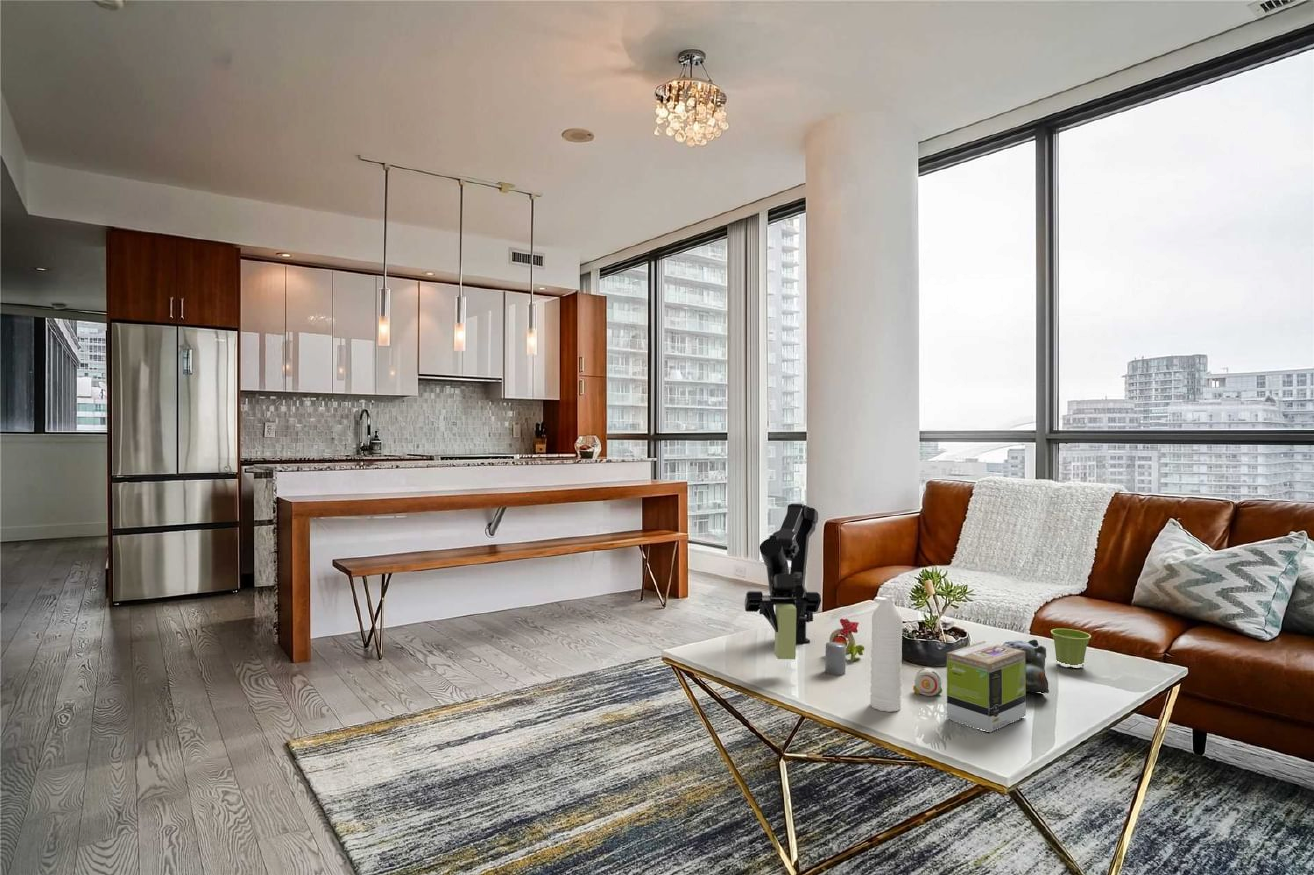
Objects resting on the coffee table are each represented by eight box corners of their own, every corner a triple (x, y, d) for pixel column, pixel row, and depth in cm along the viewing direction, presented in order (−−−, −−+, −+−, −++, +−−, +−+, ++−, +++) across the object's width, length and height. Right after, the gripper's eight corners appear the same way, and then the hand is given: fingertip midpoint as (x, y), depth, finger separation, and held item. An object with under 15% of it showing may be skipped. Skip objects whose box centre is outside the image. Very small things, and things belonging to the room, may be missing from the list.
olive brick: (774, 653, 189) (775, 604, 189) (791, 653, 189) (792, 604, 189) (777, 658, 185) (778, 608, 185) (795, 659, 185) (796, 608, 185)
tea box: (982, 704, 170) (984, 639, 169) (1026, 719, 161) (1028, 650, 161) (944, 719, 161) (946, 650, 160) (989, 735, 152) (990, 662, 152)
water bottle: (876, 699, 172) (878, 590, 171) (904, 706, 168) (907, 594, 167) (862, 710, 165) (864, 597, 164) (891, 717, 161) (893, 601, 160)
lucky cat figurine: (972, 688, 180) (973, 631, 186) (1003, 701, 185) (1003, 644, 191) (1030, 687, 168) (1030, 626, 174) (1062, 701, 173) (1060, 641, 179)
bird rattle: (832, 667, 202) (863, 659, 197) (817, 626, 204) (847, 617, 199) (841, 661, 207) (871, 653, 202) (826, 622, 209) (855, 613, 205)
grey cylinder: (822, 669, 193) (822, 642, 192) (840, 668, 194) (840, 641, 193) (830, 676, 188) (830, 648, 188) (848, 675, 189) (849, 647, 189)
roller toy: (941, 699, 172) (941, 674, 172) (912, 695, 175) (912, 670, 175) (942, 693, 176) (943, 669, 176) (914, 689, 179) (914, 665, 179)
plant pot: (1098, 669, 197) (1099, 636, 197) (1072, 673, 193) (1073, 639, 193) (1067, 658, 206) (1068, 627, 205) (1041, 662, 202) (1042, 630, 202)
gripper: (746, 559, 190) (752, 613, 180) (820, 560, 191) (830, 614, 180) (742, 584, 198) (747, 637, 187) (812, 585, 199) (821, 638, 188)
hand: (786, 631), depth 185 cm, fingers closed on olive brick, 4 cm apart
